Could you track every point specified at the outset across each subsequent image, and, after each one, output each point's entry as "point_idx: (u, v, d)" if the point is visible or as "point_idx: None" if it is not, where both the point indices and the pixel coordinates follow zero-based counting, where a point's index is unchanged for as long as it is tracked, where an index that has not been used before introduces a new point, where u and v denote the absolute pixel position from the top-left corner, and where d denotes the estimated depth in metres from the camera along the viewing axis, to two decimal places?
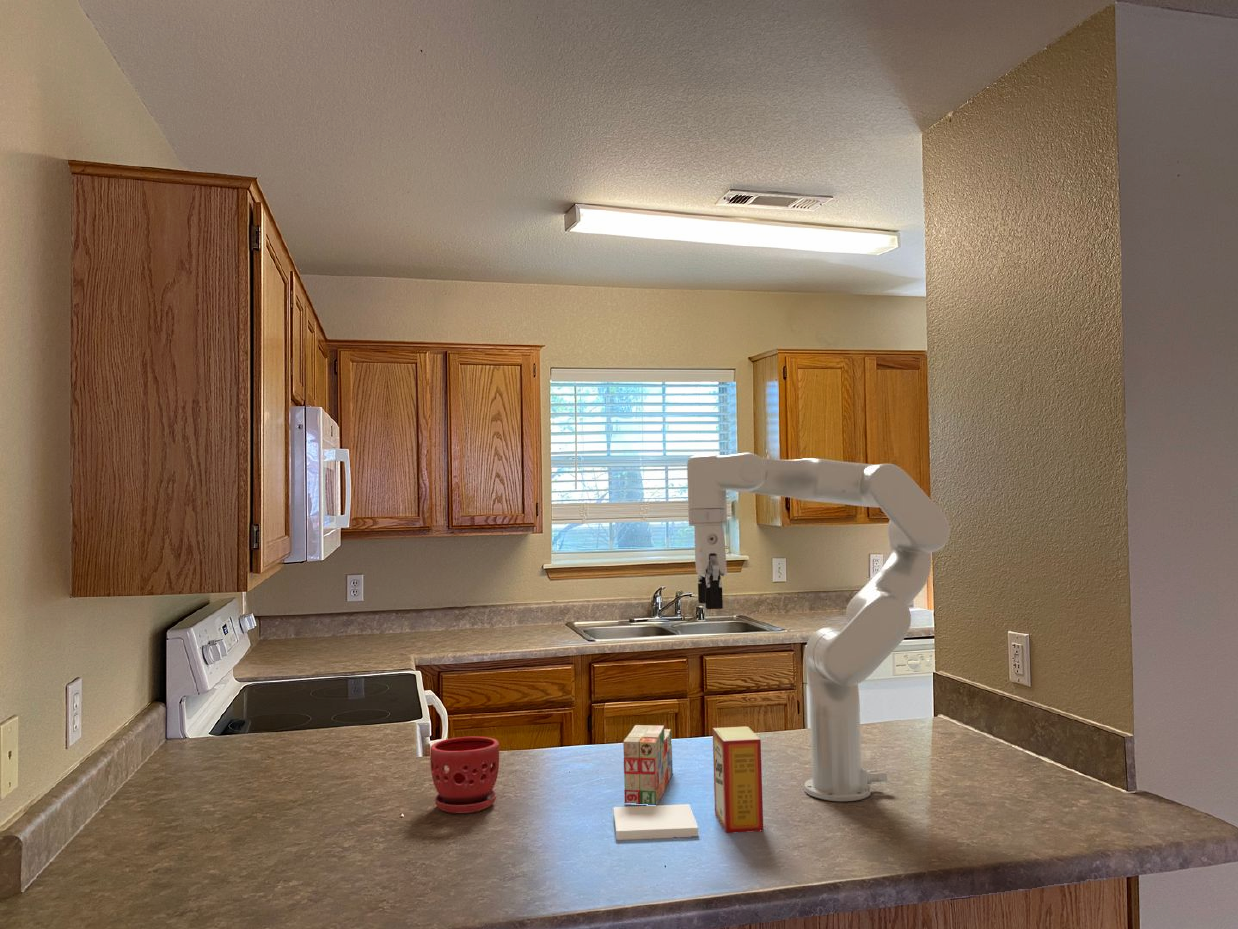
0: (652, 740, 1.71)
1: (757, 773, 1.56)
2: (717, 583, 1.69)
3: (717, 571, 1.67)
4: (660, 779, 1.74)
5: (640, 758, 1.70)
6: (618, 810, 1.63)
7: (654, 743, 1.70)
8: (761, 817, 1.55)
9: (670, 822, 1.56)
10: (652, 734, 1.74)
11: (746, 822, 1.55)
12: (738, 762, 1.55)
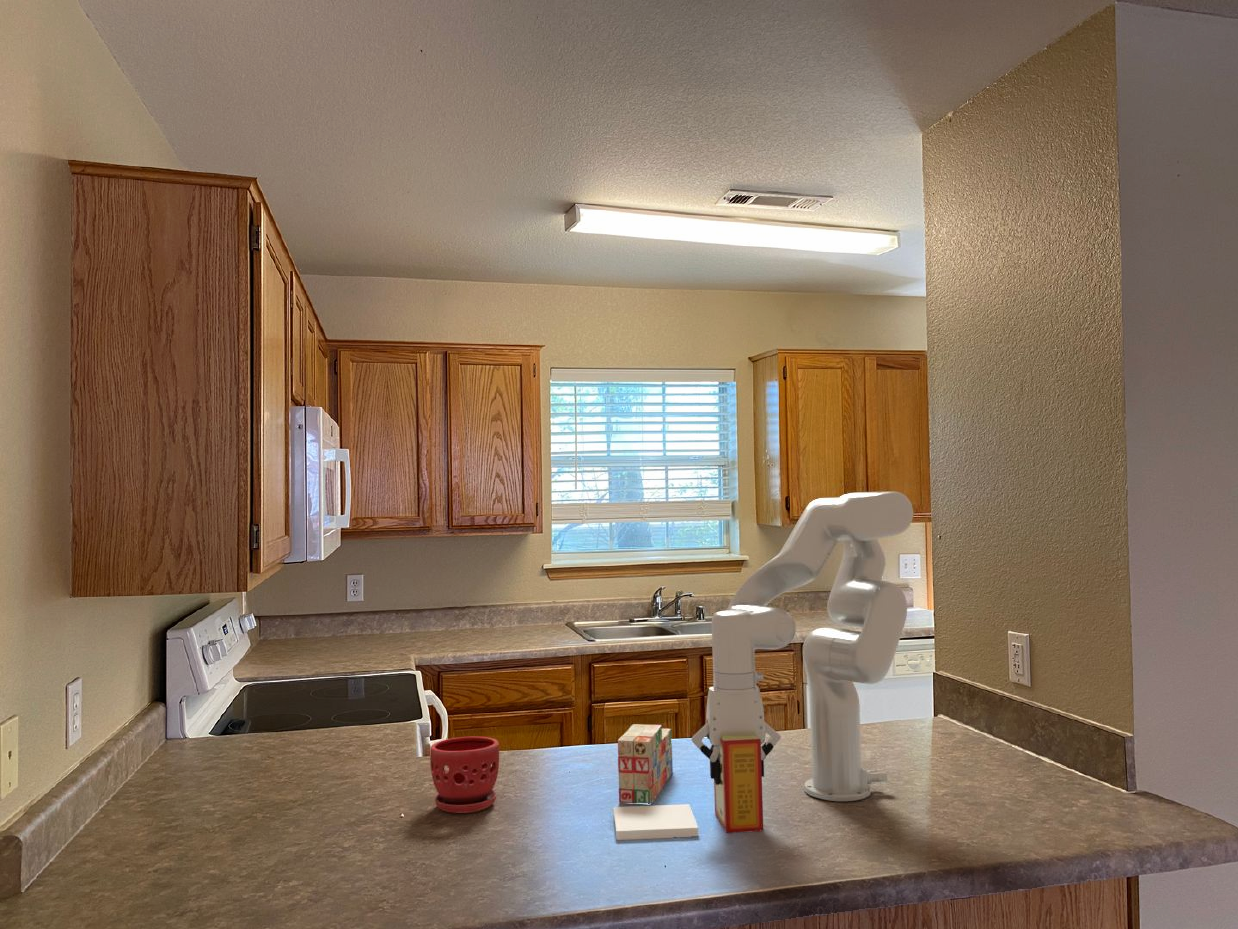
0: (646, 739, 1.72)
1: (757, 773, 1.56)
2: None
3: None
4: (655, 778, 1.74)
5: (634, 757, 1.71)
6: (618, 810, 1.63)
7: (648, 742, 1.70)
8: (761, 817, 1.55)
9: (670, 822, 1.56)
10: (647, 733, 1.75)
11: (746, 822, 1.55)
12: (738, 762, 1.55)
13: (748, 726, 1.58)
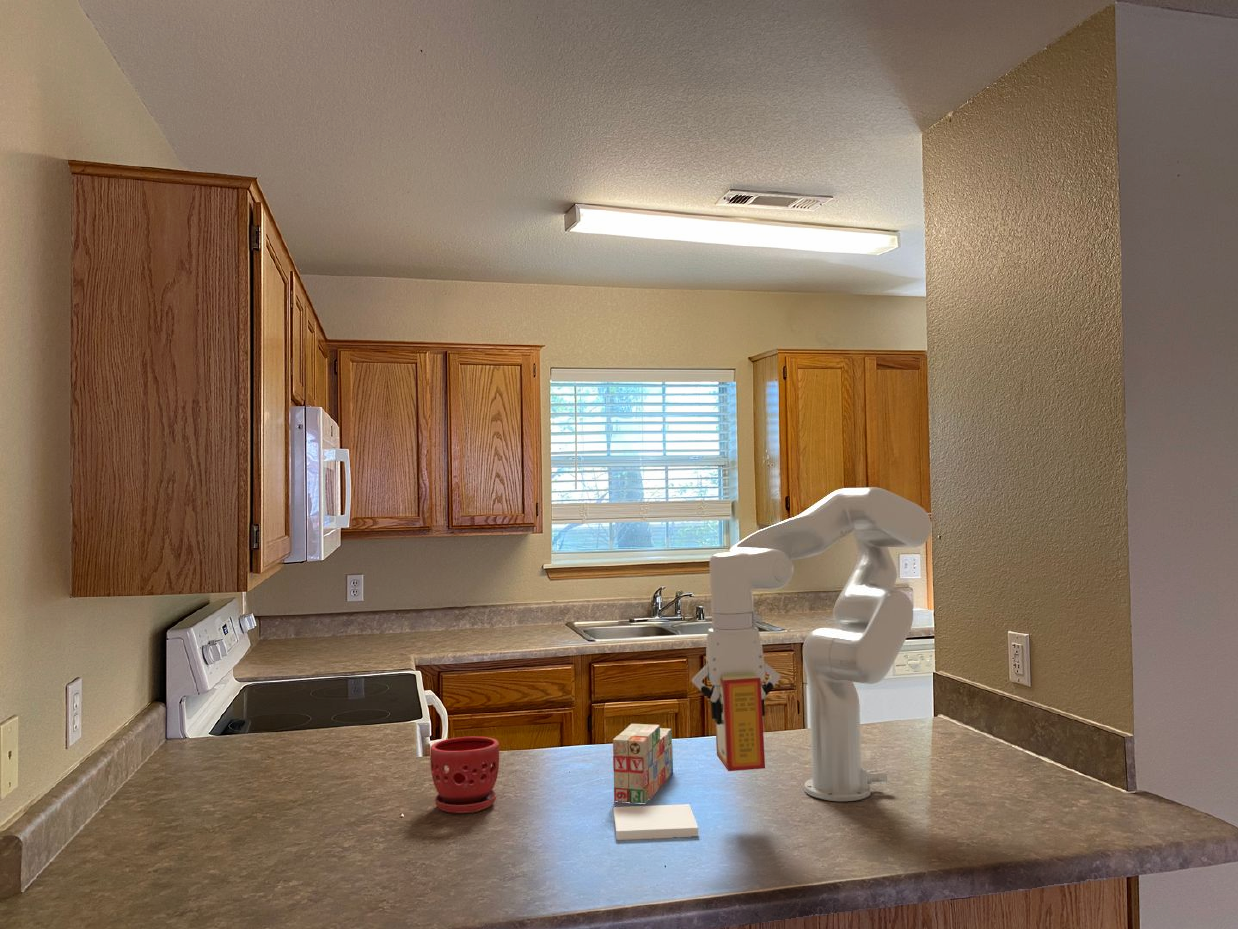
0: (641, 739, 1.72)
1: (758, 712, 1.56)
2: None
3: None
4: (651, 778, 1.75)
5: (629, 757, 1.71)
6: (618, 810, 1.63)
7: (642, 742, 1.70)
8: (762, 755, 1.56)
9: (670, 822, 1.56)
10: (643, 733, 1.75)
11: (748, 760, 1.56)
12: (738, 701, 1.56)
13: (748, 665, 1.59)
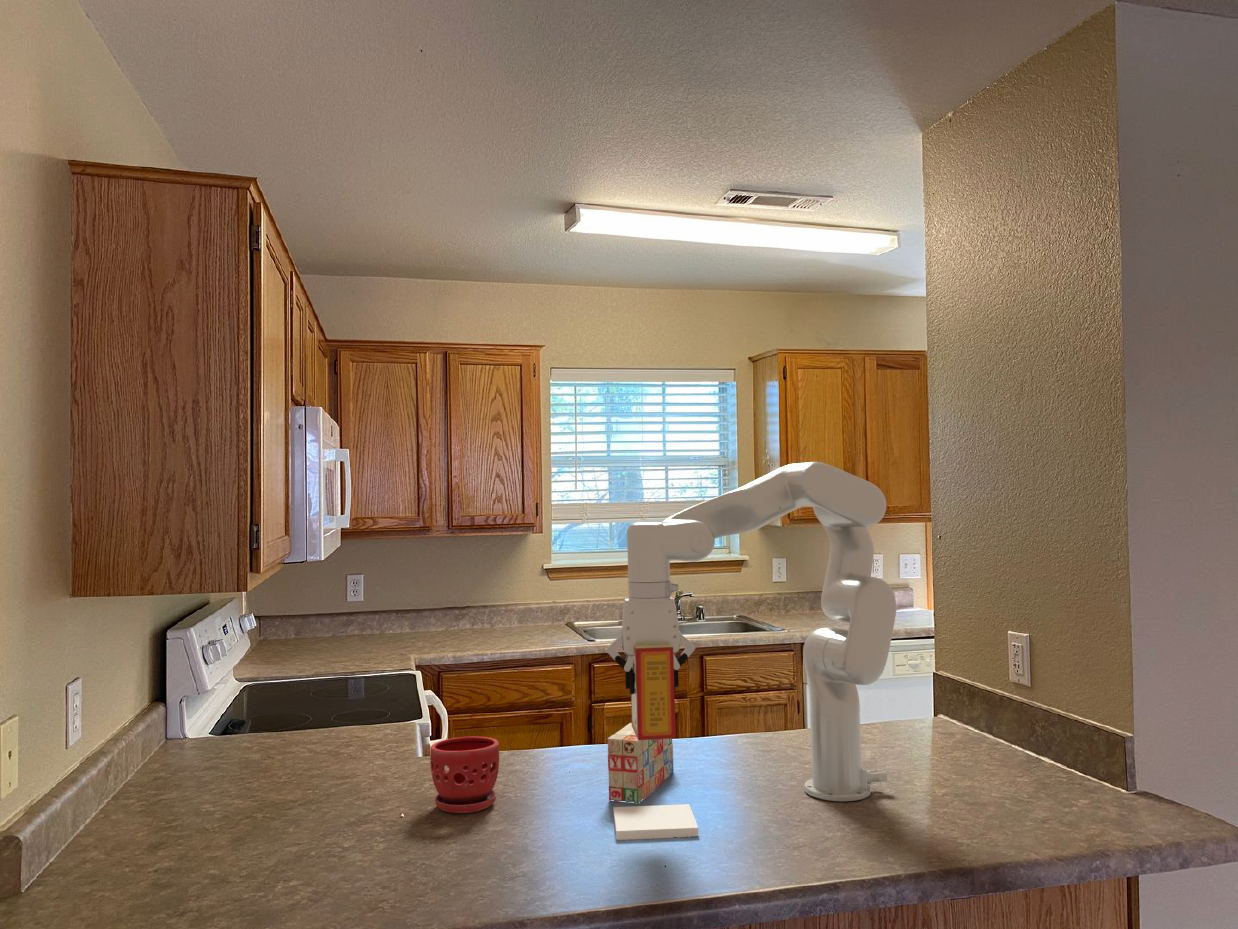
0: (636, 738, 1.73)
1: (669, 681, 1.56)
2: None
3: None
4: (647, 777, 1.75)
5: (623, 756, 1.72)
6: (618, 810, 1.63)
7: (636, 741, 1.71)
8: (673, 724, 1.55)
9: (670, 822, 1.56)
10: None
11: (659, 729, 1.55)
12: (650, 669, 1.55)
13: (662, 635, 1.58)
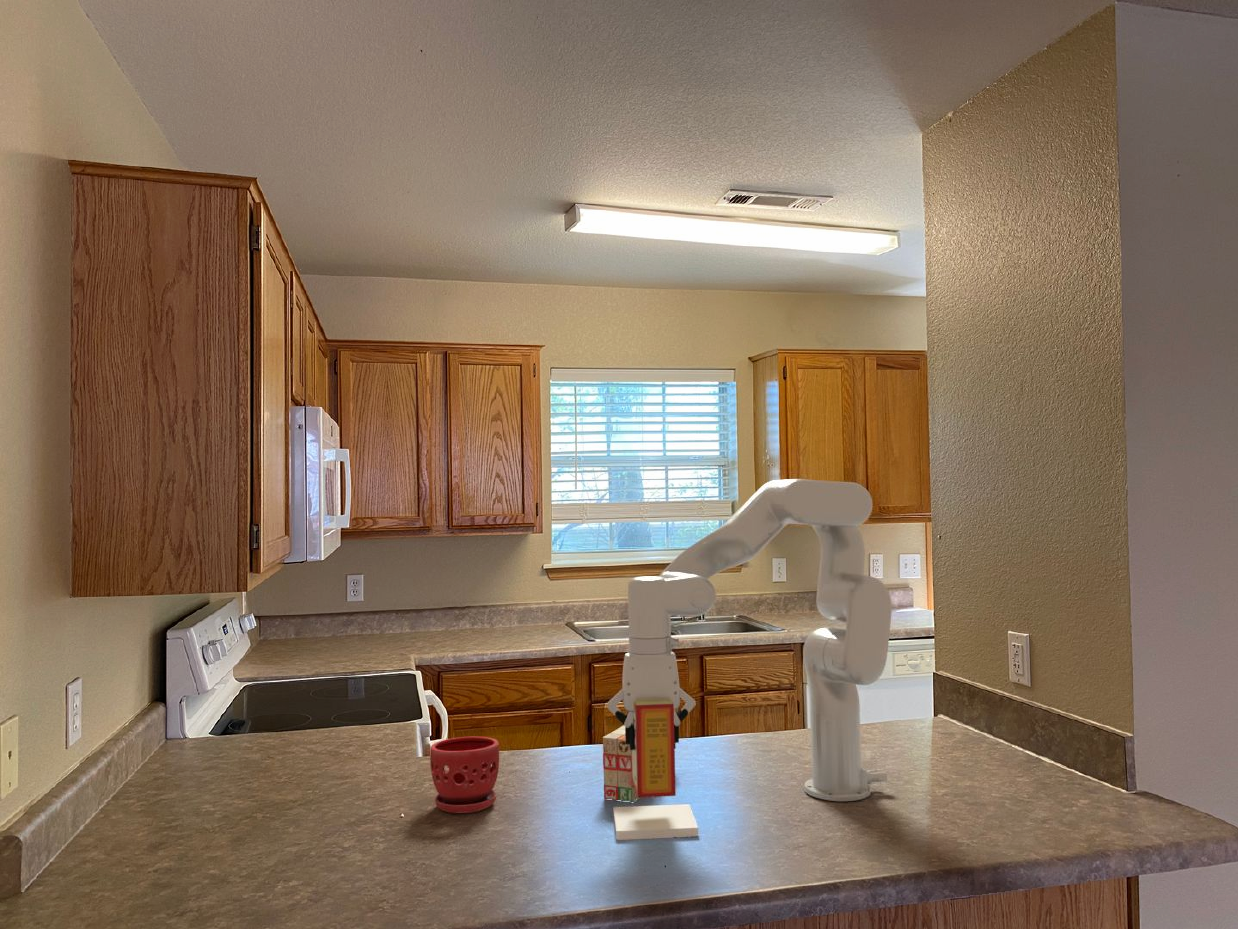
0: None
1: (670, 738, 1.55)
2: None
3: None
4: None
5: (618, 755, 1.72)
6: (618, 810, 1.63)
7: None
8: (673, 782, 1.55)
9: (670, 822, 1.56)
10: None
11: (659, 787, 1.54)
12: (650, 726, 1.55)
13: (662, 691, 1.58)
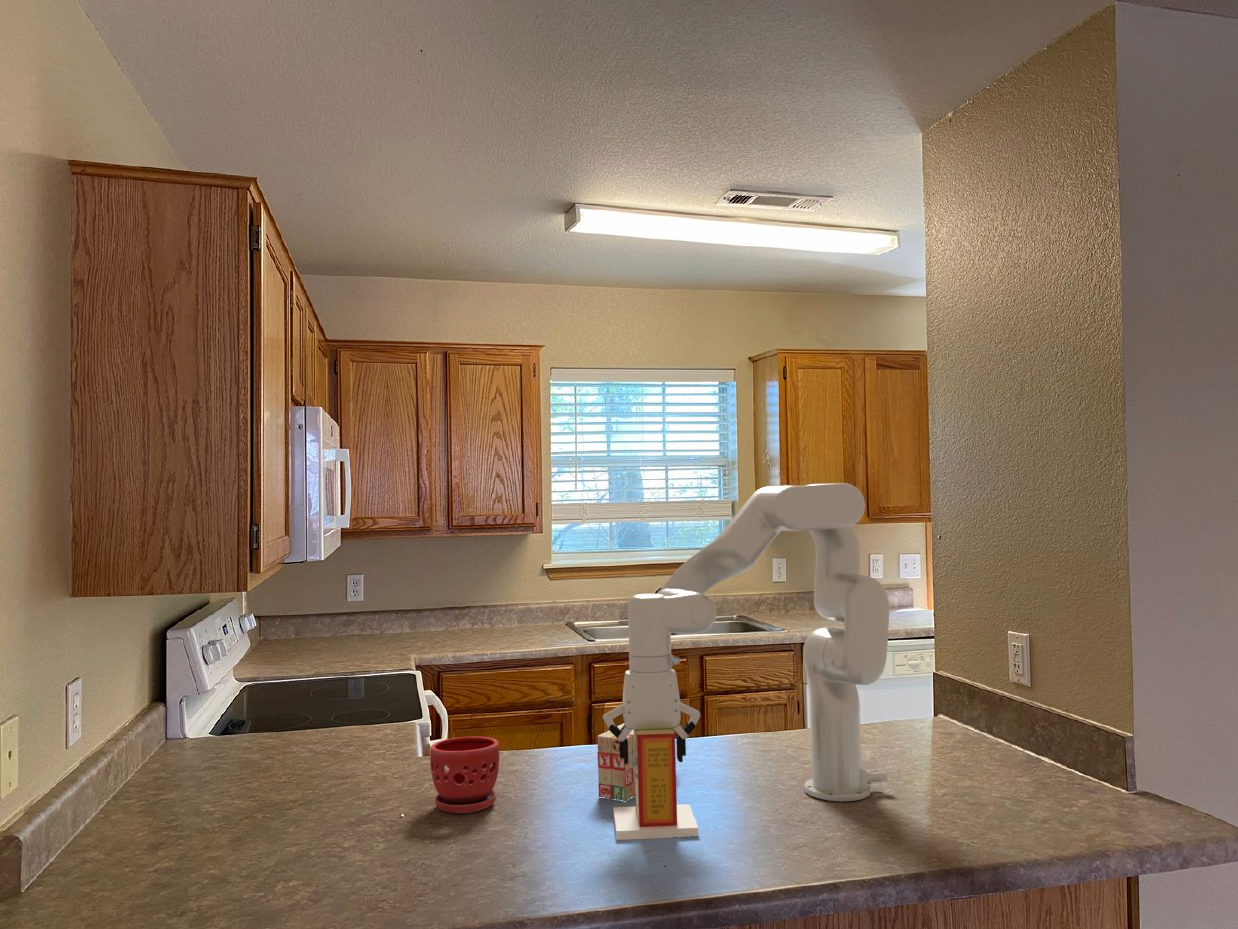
0: None
1: (671, 768, 1.55)
2: None
3: None
4: None
5: (612, 754, 1.73)
6: (618, 810, 1.63)
7: None
8: (675, 812, 1.55)
9: None
10: None
11: (660, 816, 1.54)
12: (651, 756, 1.55)
13: (663, 709, 1.58)
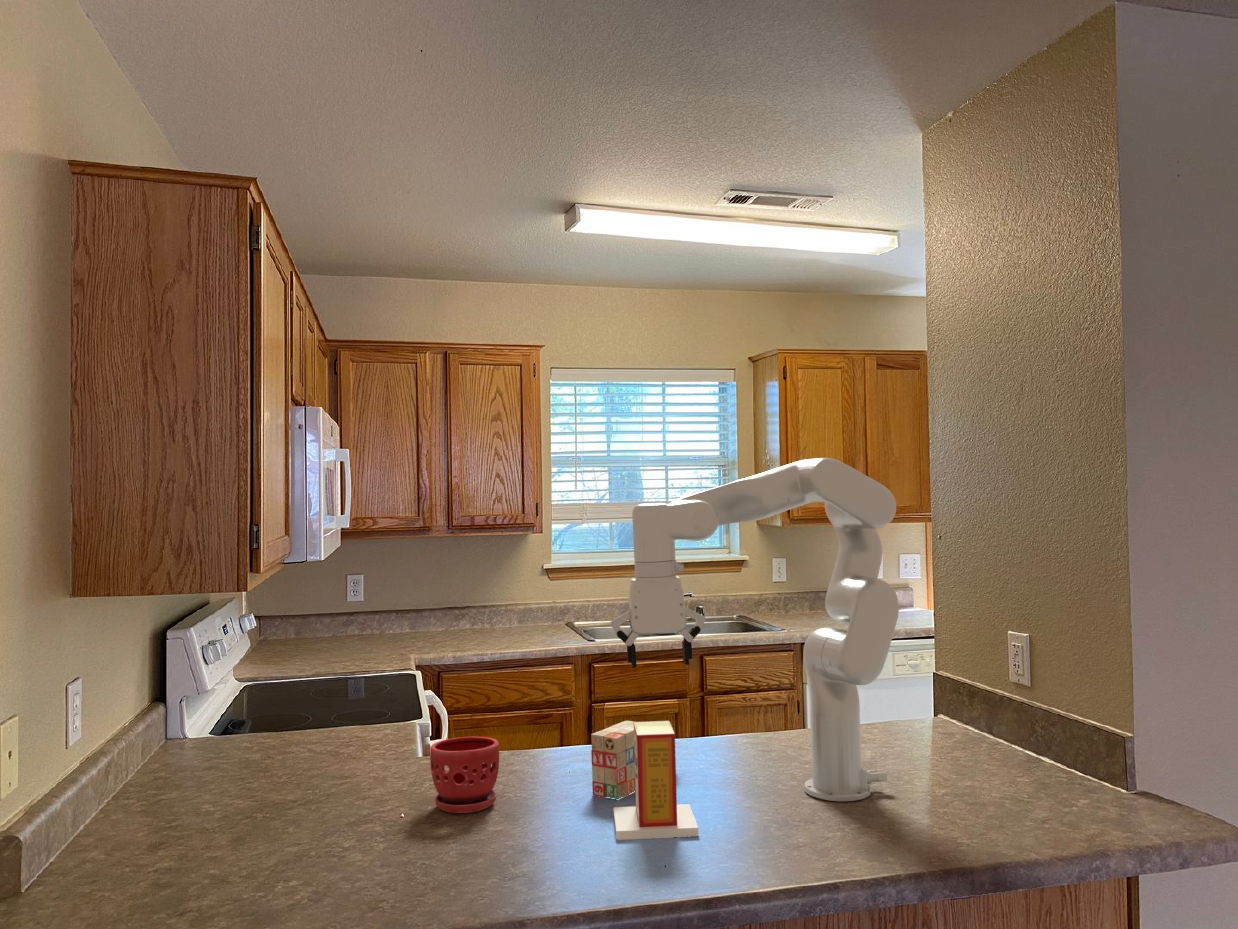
0: (618, 736, 1.75)
1: (671, 768, 1.55)
2: None
3: None
4: (631, 775, 1.77)
5: (604, 752, 1.75)
6: (618, 810, 1.63)
7: (616, 739, 1.73)
8: (675, 812, 1.55)
9: None
10: (625, 730, 1.78)
11: (660, 816, 1.54)
12: (651, 756, 1.55)
13: (669, 613, 1.61)
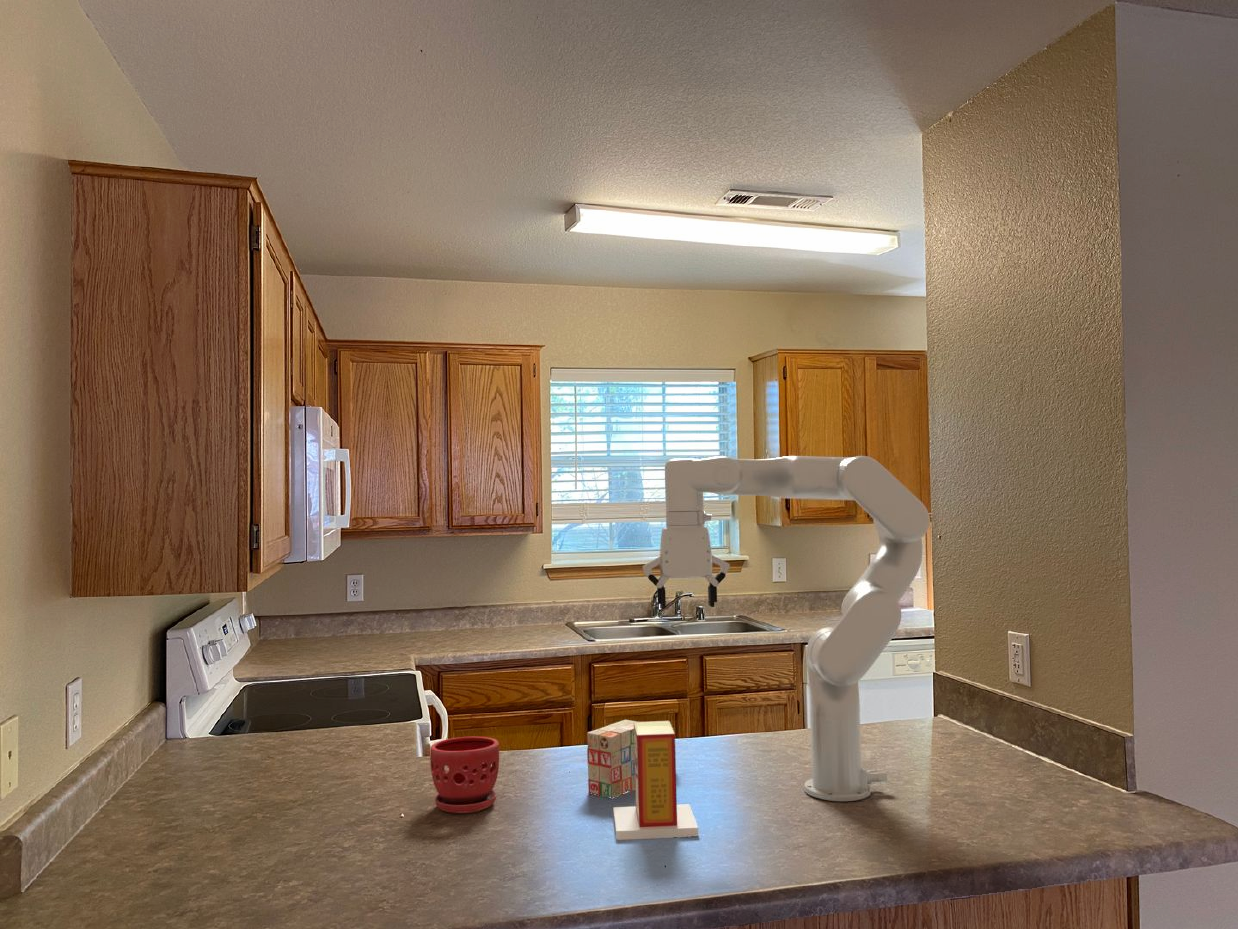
0: (613, 735, 1.76)
1: (671, 768, 1.55)
2: None
3: None
4: (627, 774, 1.77)
5: (599, 751, 1.76)
6: (618, 810, 1.63)
7: (610, 738, 1.74)
8: (675, 812, 1.55)
9: None
10: (621, 729, 1.79)
11: (660, 816, 1.54)
12: (651, 756, 1.55)
13: (697, 559, 1.76)
